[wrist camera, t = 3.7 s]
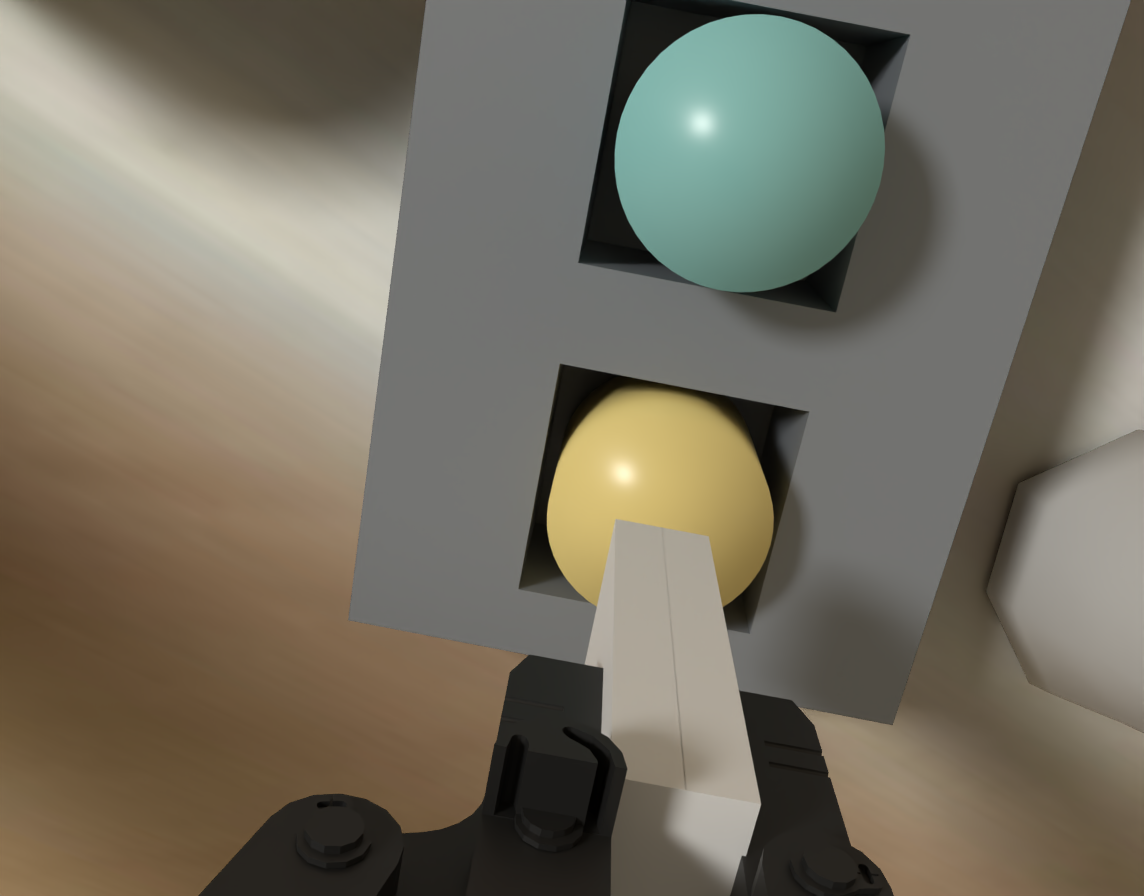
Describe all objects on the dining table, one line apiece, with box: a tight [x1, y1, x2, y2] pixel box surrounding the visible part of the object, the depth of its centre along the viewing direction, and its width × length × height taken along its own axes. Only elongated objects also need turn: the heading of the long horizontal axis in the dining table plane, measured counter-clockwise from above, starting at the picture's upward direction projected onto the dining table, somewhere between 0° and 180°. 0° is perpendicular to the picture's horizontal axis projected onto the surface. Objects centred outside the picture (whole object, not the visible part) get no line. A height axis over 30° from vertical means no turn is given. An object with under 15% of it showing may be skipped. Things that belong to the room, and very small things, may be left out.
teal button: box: [615, 14, 885, 292], centre depth 19 cm, size 4×4×4 cm
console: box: [348, 0, 1131, 725], centre depth 21 cm, size 12×22×4 cm, turn 170°
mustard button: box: [547, 375, 774, 607], centre depth 22 cm, size 4×4×4 cm
